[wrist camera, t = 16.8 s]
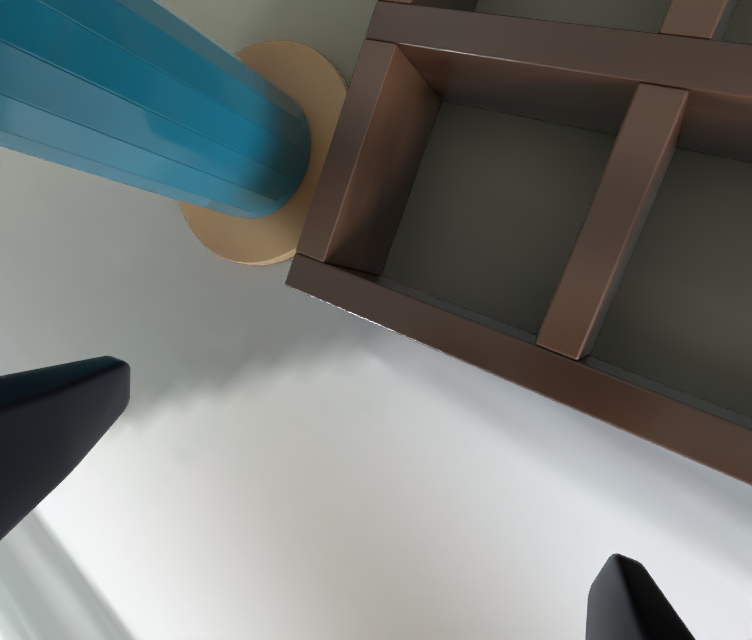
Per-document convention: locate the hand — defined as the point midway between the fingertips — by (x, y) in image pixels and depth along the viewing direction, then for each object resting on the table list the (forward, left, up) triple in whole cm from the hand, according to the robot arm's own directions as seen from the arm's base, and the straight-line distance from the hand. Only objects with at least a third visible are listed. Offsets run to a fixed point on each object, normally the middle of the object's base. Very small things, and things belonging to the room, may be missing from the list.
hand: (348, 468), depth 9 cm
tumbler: (+6, +12, -8) cm, 16 cm away
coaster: (+6, +12, -9) cm, 16 cm away
